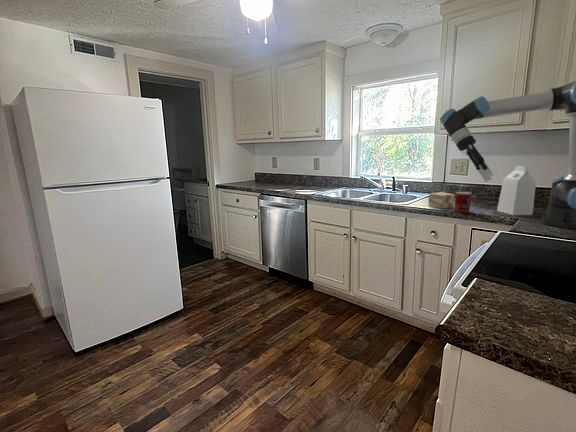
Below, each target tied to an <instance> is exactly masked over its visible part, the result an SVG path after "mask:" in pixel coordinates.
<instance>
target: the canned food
mask: <svg viewBox="0 0 576 432" xmlns="http://www.w3.org/2000/svg"><path fill="white" fill-rule="evenodd" d="M471 200H472V192H469V191H456V193H455V198H454V207H453V208H454V209H453V210H454V212H456V213H461V214H462V213H464V214H467V213H470V208H471Z"/></svg>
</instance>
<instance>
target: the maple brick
mask: <svg viewBox="0 0 576 432" xmlns="http://www.w3.org/2000/svg"><path fill="white" fill-rule="evenodd" d="M455 197H456V193H455V194H454V193H448V192H440V191H438V192H430V193H429V195H428V204H427V205H428V206H430V207H433V208H438V209H448V208H454V206H455Z"/></svg>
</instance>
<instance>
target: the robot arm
mask: <svg viewBox="0 0 576 432" xmlns="http://www.w3.org/2000/svg"><path fill="white" fill-rule="evenodd" d="M542 110H545V111H546V112H549V111H550V112H551V111H560V110H561V111H562V110H563V111H564V110H565V116H566V117H568V118H569V133H568V134H569V137H568V139H569V140H568V172H567V175H565V176H555V177H553V179H552V183H551V189H550V194H549V195H550V196H549V198H548V200H549V201H548V205H547V208H546V210H545V212H544V213H543V214H542V216H541V219H540V223H541V224H543V225H546V226H549V227H550V226H552V227H556V228H562V229H563V228H564V229H576V80H574V81H571V82H569V83H566V84H564V85H561V86H558V87H554V88H553V87H552V88H548V89H547V90H546V91H544V92H537V93H530V94H526V95H520V96H519V95H518V96H513V97H512V96H511V97H507V98H501V99H495V100H487V98H486V97H484V96H483V95H482V96H479V97H477V98H475V99H474V100H472V101H470V102H469V103H468V104H466V105H464V106H462V107H461V108H459V109H457V110H455V108H450V109H447V110H445V111H444V112H443V113H442V114H441V115H440V117H439V120H440V123H441V125H442V126H443V129H445V131H446V132H447V134H448V135H449V137H450V141H453V142H454V144H456V147H457V149H458V150H459V151H460V152H463V151H465V150H466V151H465V152H466V155H467V157H468V158H469V159H470V161H471V162H472V164H473V166H474V167H475V170H477V172H478V173H479V175H480V176H481V178H482V179H483V181H484V182H485V183H487V182H488V181H491V180H492V176H494V175H495V174H494V173H493V172H492V170H491V169H490V167H489V165H488V164H487V163H486V161H485V158H484V157H483V156H482V155H481V153H480V152H479V151H478V150H477V147H476V146H475V144H476V142H477V140H476V139H475V137H474V136H473V135H472V133H471V131H470V130H469V128H468V126H466V125H467V124H469V123H470V122H472V121H474V120H479V119H484V118H485V119H487V118H492V117H494V118H495V117H499V116H507V115H514V114H520V113H526V112H534V111H542Z"/></svg>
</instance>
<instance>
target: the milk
mask: <svg viewBox="0 0 576 432" xmlns="http://www.w3.org/2000/svg"><path fill="white" fill-rule="evenodd" d="M536 185H537V180H536V179H535V178H534V177H533V176H532V174H530V173H529V171H528V167H527V166H525V165H524V166H523V165H516V166H515V168H514V170H513V171H511V172H510V173H509V174H508V175H506V176H505V177H504V178H503V181H502V185H501V189H500V195H499V199H498V204H497V207H496V208H497V209H496V211H497V212H500V213H503V212H504V213H503V214H506V213H508V214H507V215H510V214H511V215H510V216H532V215H533V213H534V205H535V196H536V195H535V193H536Z"/></svg>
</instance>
